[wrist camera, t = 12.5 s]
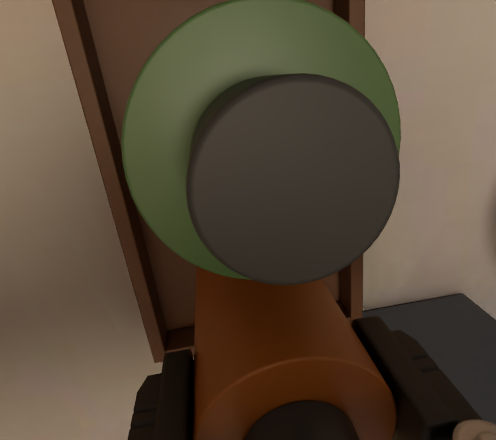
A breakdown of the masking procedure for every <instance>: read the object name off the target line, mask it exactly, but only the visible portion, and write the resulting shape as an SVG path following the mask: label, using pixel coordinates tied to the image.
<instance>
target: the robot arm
mask: <svg viewBox="0 0 496 440" xmlns="http://www.w3.org/2000/svg"><path fill="white" fill-rule="evenodd" d="M351 327H352V328H353V330H354V332H355V333H356V335H357V337H358V338H359V340H360V341H361V343H362V345H363V346H364V348H365V350H366V351H367V353H368V354H369V356H370V358H371V359H372V361H373V362H374V364H375V366H376V367H377V369H378V371H379V372H380V374H381V375H382V377H383V379H384V380H385V382H386V384H387V385H388V387H389V388H390V390H391V392H392V395H393V397H394V399H395V404H396V409H397V423H396V429H395V432H394V436H393V439H392V440H496V424H494V423H491V422H488V421H484V420H483V419H482V418H481V417H480V416H479V415H478V413H477V412H476V411H475V410H474V409H473V407H472V406H471V405H470V404H469V403H468V401H467V400H466V399H465V398H464V397H463V395H462V394H461V393H460V392H459V391H458V389H457V388H456V387H455V386H454V385H453V383H452V382H451V381H450V380H449V379H448V377H447V376H446V375H445V374H444V373H443V371H442V370H441V369H439V368H438V365H437V364H436V363H435V362H434V361H433V359H432V358H431V357H429V356H428V353H427V352H426V351H425V350H424V349H423V347H422V346H421V345H420V344H419V343H418V341H417V340H415V339H414V338H412V337H411V336H409V335H408V334H406V333H405V332H403V331H401V330H394V331H390V329H389V328H388V327H387V325H386V324H385V323H384V321H383V320H382V319H381V318H380V317H379V316H378V315H375V316H369V317H364V318H358V319H353V320H352V324H351ZM193 385H194V359H193V355H192V351H191V349H186V350H180V351H175V352H169V353H165V355H164V359H163V367H162V373H160V374H155V375H150V376H147V378H146V379H145V381H144V383H143V384H142V386H141V387H140V389H139V390H138V392H137V396H136V401H135V406H134V414H133V416H132V421H131V429H130V431H129V436H128V440H192V432H193Z"/></svg>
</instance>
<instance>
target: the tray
mask: <svg viewBox="0 0 496 440" xmlns="http://www.w3.org/2000/svg"><path fill="white" fill-rule="evenodd" d="M225 1H228V0H52V3H53V6H54V10H55V13H56V17H57V20H58V24H59V27H60V31H61V34H62V38H63V41H64V45H65V48H66V52H67V55H68V59H69V62H70V66H71V70H72V73H73V77H74V80H75V84H76V87H77V91H78V94H79V98H80V101H81V105H82V108H83V112H84V115H85V119H86V122H87V126H88V129H89V133H90V137H91V140H92V144H93V147H94V151H95V154H96V158H97V161H98V165H99V168H100V172H101V175H102V179H103V182H104V186H105V189H106V193H107V197H108V200H109V204H110V207H111V211H112V214H113V218H114V221H115V225H116V228H117V232H118V235H119V239H120V242H121V246H122V249H123V253H124V256H125V260H126V264H127V267H128V271H129V274H130V278H131V281H132V285H133V288H134V292H135V295H136V299H137V302H138V306H139V309H140V313H141V316H142V320H143V323H144V327H145V331H146V334H147V338H148V341H149V345H150V348H151V352H152V355H153V359H154V362H155V363H158V362H163V359H164V355H165V353H169V352H175V351H180V350H186V349H191V351H192V355H193V356H194V339H195V293H196V265H194V264H192V263H190V262H188V261H186V260H185V259H183V258H182V257H181V256H179V255H178V254H176V253H175V252H173V251H172V250H171V249H170V248H169V247H168V246H167V245H165V244H164V243H163V242H162V241H161V240H160V239H159V238H158V237H157V235H156V234H155V233H154V232H153V231H152V230H151V228H150V227H149V226H148V224H147V223H146V221H145V220H144V218H143V217H142V215H141V214H140V212H139V210H138V208H137V206H136V204H135V202H134V200H133V198H132V196H131V193H130V190H129V187H128V184H127V181H126V177H125V172H124V167H123V161H122V146H121V137H122V125H123V118H124V113H125V109H126V104H127V100H128V98H129V95H130V92H131V90H132V87H133V84H134V82H135V80H136V78H137V76H138V74H139V72H140V70H141V69H142V67H143V65H144V63H145V62H146V60H147V59H148V58H149V56H150V55H151V54H152V52H153V51H154V50H155V48H156V47H157V46H158V44H159V43H160V42H161V41H162V40H163V39H165V38H166V37H167V36H168V35H169V34H170V33H171V32H172V31H173V30H174V29H175V28H176V27H178V26H179V25H180V24H182V23H183V22H184V21H186V20H187V19H189V18H190V17H191V16H193V15H195V14H197V13H199V12H201V11H203V10H205V9H206V8H208V7H210V6H213V5H216V4H219V3H222V2H225ZM304 1H307V2H311V3H314V4H316V5H318V6H320V7H322V8H325V9H327V10H329V11H331V12H333V13H334V14H336V15H337V16H339V17H340V18H342V19H343V20H345V21H346V22H348V23H349V24H350V25H351V26H352V27H353V28H355V29H356V30H357V31H358V32H359V33H360V34H361V35H362V36H363V37H364V38H365V0H304ZM322 280H323V281H324V283H325V285H326V286H327V288H328V290H329V291H330V293H331V294H332V296H333V298H334V299H335V301H336V303H337V304H338V306H339V307H340V309H341V311H342V312H343V314H344V315H345V317H346V319H347V320H348V322H349V324H350V325H351V324H352V320H353V319H358V318H362V300H363V254H362V255H361V256H360V257H359V258H357V259H356V260H355V261H354V262H352V263H351V264H350V265H348V266H347V267H345V268H343V269H342V270H340V271H338V272H336V273H334V274H332V275H330V276H328V277H325V278H322Z"/></svg>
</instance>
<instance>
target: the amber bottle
mask: <svg viewBox="0 0 496 440" xmlns="http://www.w3.org/2000/svg"><path fill="white" fill-rule="evenodd" d="M396 423H397V409H396V404H395V399H394V397H393V395H392V392H391V390H390V388H389V387H388V385H387V384H386V382H385V380H384V379H383V377H382V375H381V374H380V372H379V371H378V369H377V367H376V366H375V364H374V362H373V361H372V359H371V358H370V356H369V354H368V353H367V351H366V350H365V348H364V346H363V345H362V343H361V341H360V340H359V338H358V337H357V335H356V333H355V332H354V330H353V328H352V327H351V325H350V324H349V322H348V320H347V319H346V317H345V315H344V314H343V312H342V311H341V309H340V307H339V306H338V304H337V303H336V301H335V299H334V298H333V296H332V294H331V293H330V291H329V290H328V288H327V286H326V285H325V283H324V281H323V280H322V279H319V280H317V281H313V282H308V283H304V284H296V285H274V284H266V283H262V282H258V281H254V280H246V279H238V278H231V277H227V276H223V275H218V274H215V273H212V272H210V271H207V270H204V269H202V268H200V267H198V266H196V293H195V339H194V385H193V432H192V440H392V439H393V436H394V432H395V429H396Z"/></svg>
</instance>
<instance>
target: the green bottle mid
mask: <svg viewBox="0 0 496 440" xmlns="http://www.w3.org/2000/svg"><path fill="white" fill-rule="evenodd" d="M400 140H401V130H400V115H399V108H398V102H397V98H396V95H395V91H394V88H393V84H392V82H391V80H390V77H389V75H388V73H387V70H386V68H385V66H384V65H383V63H382V61H381V60H380V58H379V57H378V55H377V53H376V52H375V50H374V49H373V48H372V47H371V45H370V44H369V43H368V42H367V40H366V39H365V38H364V37H363V36H362V35H361V34H360V33H359V32H358V31H357V30H356V29H355V28H353V27H352V26H351V25H350V24H349V23H348V22H346V21H345V20H343V19H342V18H340V17H339V16H337V15H336V14H334V13H333V12H331V11H329V10H327V9H325V8H322V7H320V6H318V5H316V4H314V3H311V2H307V1H304V0H228V1H225V2H222V3H219V4H216V5H213V6H210V7H208V8H206V9H205V10H203V11H201V12H199V13H197V14H195V15H193V16H191V17H190V18H189V19H187V20H186V21H184V22H183V23H182V24H180V25H179V26H178V27H176V28H175V29H174V30H173V31H172V32H171V33H170V34H169V35H168V36H167V37H166V38H165V39H163V40H162V41H161V42H160V43H159V44H158V46H157V47H156V48H155V50H154V51H153V52H152V54H151V55H150V56H149V58H148V59H147V60H146V62H145V63H144V65H143V67H142V69H141V70H140V72H139V74H138V76H137V78H136V80H135V82H134V84H133V87H132V90H131V92H130V95H129V98H128V100H127V104H126V109H125V113H124V118H123V125H122V137H121V146H122V161H123V167H124V172H125V177H126V181H127V184H128V187H129V190H130V193H131V196H132V198H133V200H134V202H135V204H136V206H137V208H138V210H139V212H140V214H141V215H142V217H143V218H144V220H145V221H146V223H147V224H148V226H149V227H150V228H151V230H152V231H153V232H154V233H155V234H156V235H157V237H158V238H159V239H160V240H161V241H162V242H163V243H164V244H165V245H167V246H168V247H169V248H170V249H171V250H172V251H173V252H175V253H176V254H178V255H179V256H181V257H182V258H183V259H185V260H186V261H188V262H190V263H192V264H194V265H196V266H198V267H200V268H202V269H204V270H207V271H210V272H212V273H215V274H218V275H223V276H227V277H231V278H238V279H246V280H254V281H258V282H262V283H266V284H274V285H296V284H304V283H308V282H313V281H317V280H319V279H322V278H325V277H328V276H330V275H332V274H334V273H336V272H338V271H340V270H342V269H343V268H345V267H347V266H348V265H350V264H351V263H352V262H354V261H355V260H356V259H357V258H359V257H360V256H361V255H362V254H363V253H364V252H365V251H366V250H367V249H368V248H369V247H370V246H371V245H372V244H373V242H374V241H375V240H376V239H377V238H378V236H379V235H380V233H381V232H382V230H383V229H384V227H385V225H386V223H387V221H388V219H389V217H390V215H391V213H392V210H393V207H394V205H395V202H396V197H397V193H398V188H399V179H400V163H399V149H400Z"/></svg>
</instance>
